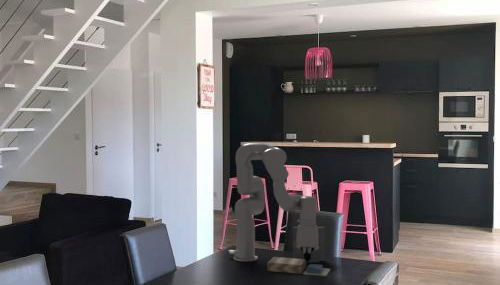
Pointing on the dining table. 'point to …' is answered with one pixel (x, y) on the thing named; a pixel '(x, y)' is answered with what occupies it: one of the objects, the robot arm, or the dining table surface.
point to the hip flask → (315, 254)
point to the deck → (286, 265)
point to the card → (314, 268)
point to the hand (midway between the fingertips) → (307, 261)
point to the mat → (322, 273)
